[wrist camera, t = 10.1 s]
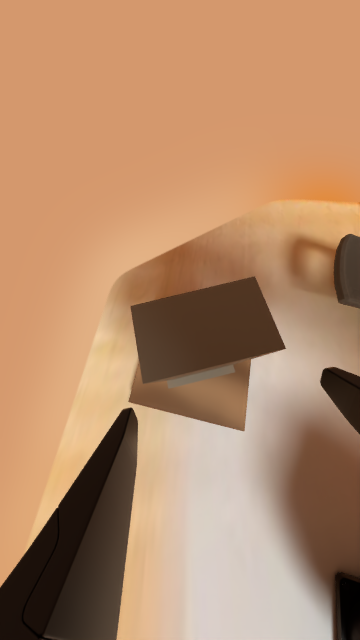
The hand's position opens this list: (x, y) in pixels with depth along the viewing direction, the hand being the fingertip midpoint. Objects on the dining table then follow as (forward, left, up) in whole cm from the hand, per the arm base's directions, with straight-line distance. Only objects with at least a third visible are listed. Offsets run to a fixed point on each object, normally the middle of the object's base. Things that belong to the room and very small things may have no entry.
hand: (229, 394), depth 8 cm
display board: (+3, +2, -13) cm, 13 cm away
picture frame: (+3, +2, -11) cm, 11 cm away
